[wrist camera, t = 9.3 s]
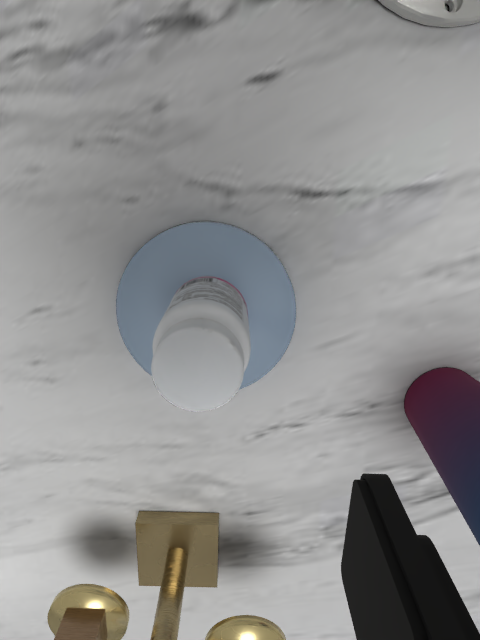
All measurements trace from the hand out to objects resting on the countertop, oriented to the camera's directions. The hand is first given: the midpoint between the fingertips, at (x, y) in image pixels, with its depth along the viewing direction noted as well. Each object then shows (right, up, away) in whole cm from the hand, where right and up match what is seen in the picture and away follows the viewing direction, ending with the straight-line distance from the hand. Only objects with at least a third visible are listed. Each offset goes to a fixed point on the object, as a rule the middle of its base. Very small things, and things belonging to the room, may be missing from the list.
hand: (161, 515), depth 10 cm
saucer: (0, +5, +17) cm, 18 cm away
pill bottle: (0, +5, +16) cm, 17 cm away
